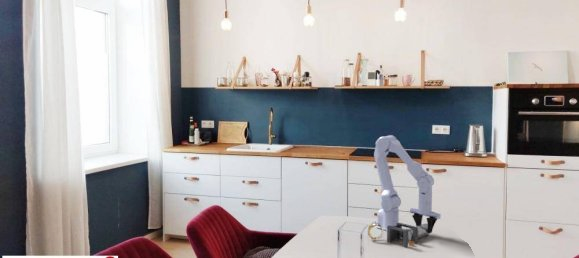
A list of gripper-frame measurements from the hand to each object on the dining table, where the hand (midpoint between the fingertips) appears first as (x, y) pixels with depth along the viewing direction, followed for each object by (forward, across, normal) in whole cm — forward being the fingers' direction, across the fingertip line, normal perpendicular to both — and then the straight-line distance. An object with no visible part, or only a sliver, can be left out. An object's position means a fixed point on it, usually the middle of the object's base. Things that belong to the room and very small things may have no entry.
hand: (424, 231), depth 215 cm
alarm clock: (+2, +10, +22) cm, 25 cm away
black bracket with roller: (+2, 0, +17) cm, 17 cm away
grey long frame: (+2, 0, +6) cm, 7 cm away
